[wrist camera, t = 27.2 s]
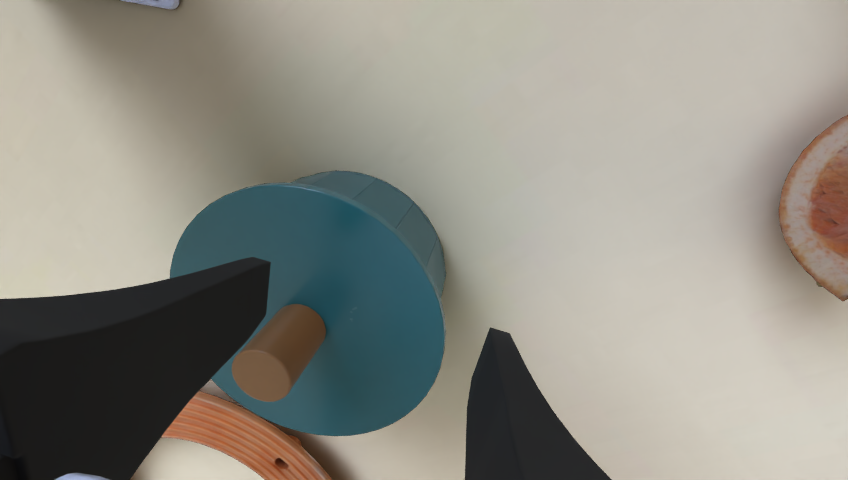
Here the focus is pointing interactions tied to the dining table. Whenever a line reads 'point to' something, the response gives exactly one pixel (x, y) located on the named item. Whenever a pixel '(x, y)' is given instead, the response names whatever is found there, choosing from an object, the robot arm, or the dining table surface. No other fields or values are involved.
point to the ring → (244, 439)
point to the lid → (323, 309)
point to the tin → (389, 213)
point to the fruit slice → (820, 209)
